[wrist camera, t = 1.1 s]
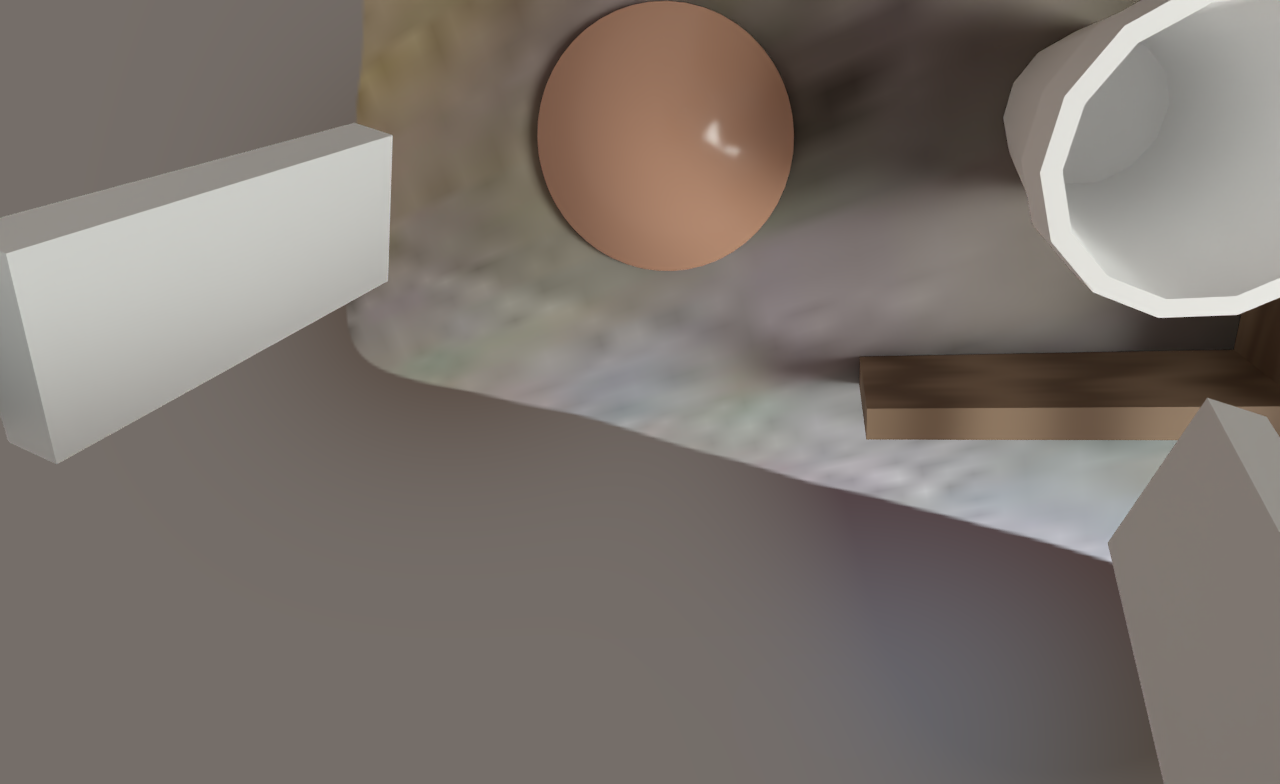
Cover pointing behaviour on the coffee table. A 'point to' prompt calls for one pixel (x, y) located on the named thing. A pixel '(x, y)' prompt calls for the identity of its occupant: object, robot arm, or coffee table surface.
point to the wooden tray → (1072, 390)
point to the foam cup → (1159, 154)
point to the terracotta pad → (665, 135)
